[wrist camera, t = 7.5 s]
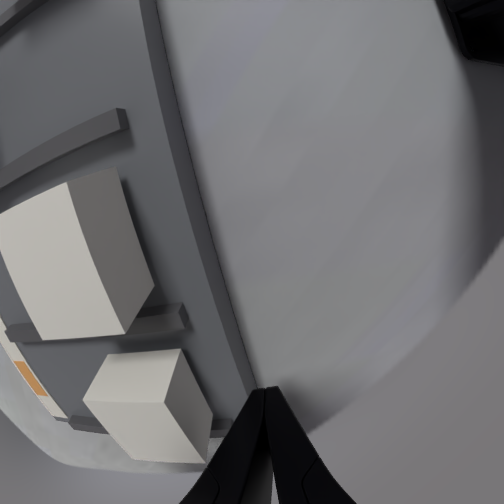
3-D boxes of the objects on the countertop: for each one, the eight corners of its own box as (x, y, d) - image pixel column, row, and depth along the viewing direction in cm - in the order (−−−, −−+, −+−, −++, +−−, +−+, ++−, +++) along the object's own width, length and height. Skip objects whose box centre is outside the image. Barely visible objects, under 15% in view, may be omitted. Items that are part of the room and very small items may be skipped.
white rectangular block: (115, 166, 7) (66, 181, 5) (154, 285, 9) (125, 333, 6) (40, 196, 8) (-11, 219, 5) (79, 298, 9) (42, 340, 7)
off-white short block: (180, 348, 9) (163, 402, 7) (212, 414, 11) (205, 463, 9) (108, 354, 10) (82, 400, 8) (147, 415, 11) (133, 459, 9)
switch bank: (138, -105, 4) (120, -132, 2) (258, 393, 13) (258, 436, 11) (-40, 15, 6) (-69, 12, 3) (69, 398, 15) (52, 427, 12)
